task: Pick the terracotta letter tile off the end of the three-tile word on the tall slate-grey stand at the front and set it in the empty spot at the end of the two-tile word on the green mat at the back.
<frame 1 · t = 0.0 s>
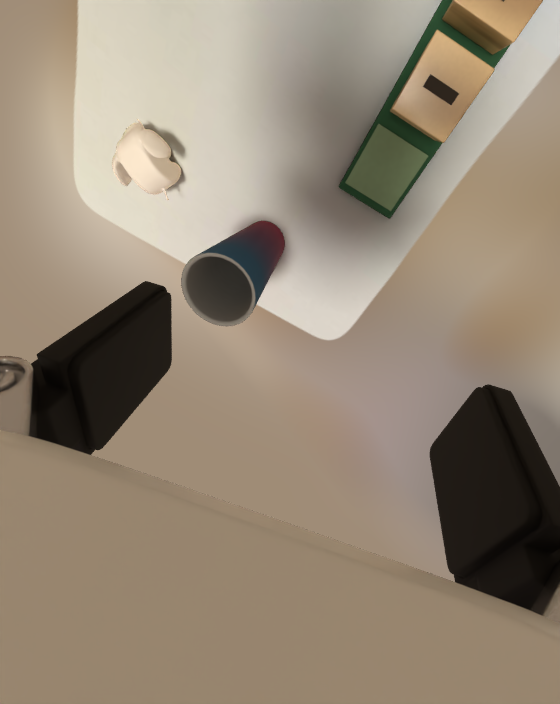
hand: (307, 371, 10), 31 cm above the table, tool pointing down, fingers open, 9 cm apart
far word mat: (430, 95, 29), on the table
elephant figurine: (164, 160, 38), on the table
cup: (265, 241, 40), on the table
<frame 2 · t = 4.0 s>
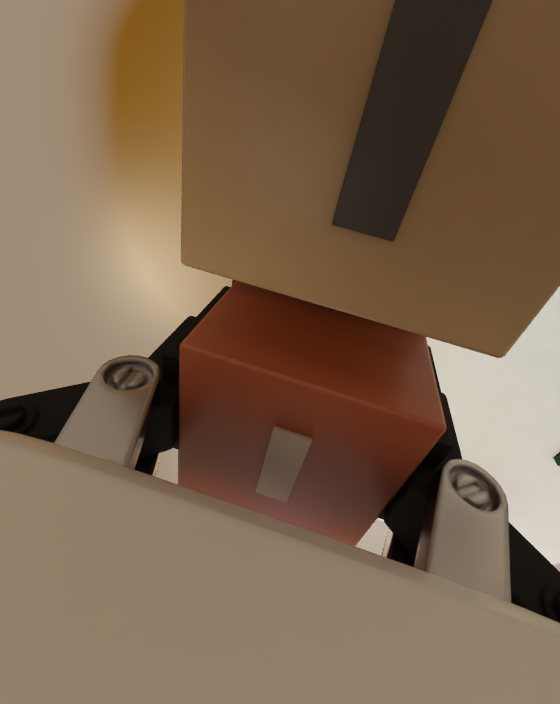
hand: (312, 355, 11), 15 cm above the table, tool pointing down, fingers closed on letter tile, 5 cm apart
near word stand: (381, 121, 19), on the table
letter tile: (315, 344, 11), point 14 cm above the table, touching gripper, near word stand
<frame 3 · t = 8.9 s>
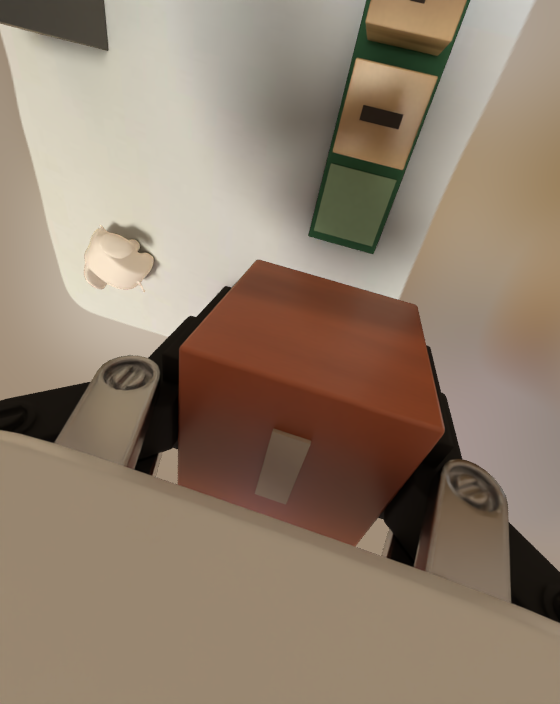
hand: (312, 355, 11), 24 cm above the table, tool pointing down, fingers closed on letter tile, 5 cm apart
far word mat: (380, 118, 26), on the table
elephant figurine: (136, 252, 38), on the table
letter tile: (314, 346, 11), point 23 cm above the table, touching gripper
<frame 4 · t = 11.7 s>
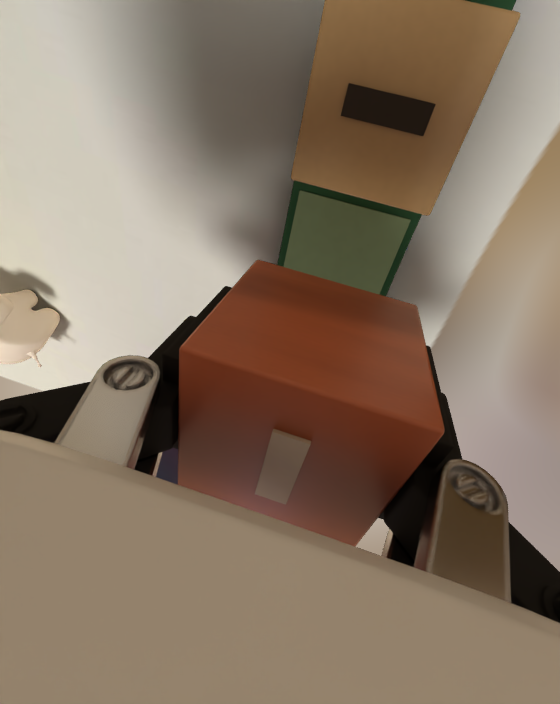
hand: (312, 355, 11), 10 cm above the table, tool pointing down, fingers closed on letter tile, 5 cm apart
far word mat: (383, 113, 14), on the table
elephant figurine: (36, 305, 27), on the table
letter tile: (314, 346, 11), point 9 cm above the table, touching gripper
cup: (200, 378, 27), on the table
when the fingers open (2 cm above the table, at t = 14.0 s): letter tile stays where it is, resting on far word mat.
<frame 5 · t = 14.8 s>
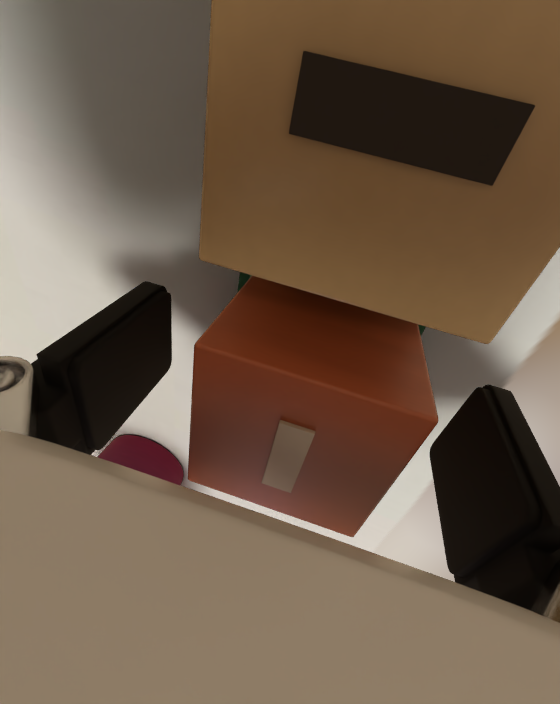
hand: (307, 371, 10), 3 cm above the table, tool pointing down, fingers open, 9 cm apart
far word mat: (387, 124, 9), on the table
letter tile: (316, 345, 12), point 1 cm above the table, touching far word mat
cup: (149, 459, 21), on the table
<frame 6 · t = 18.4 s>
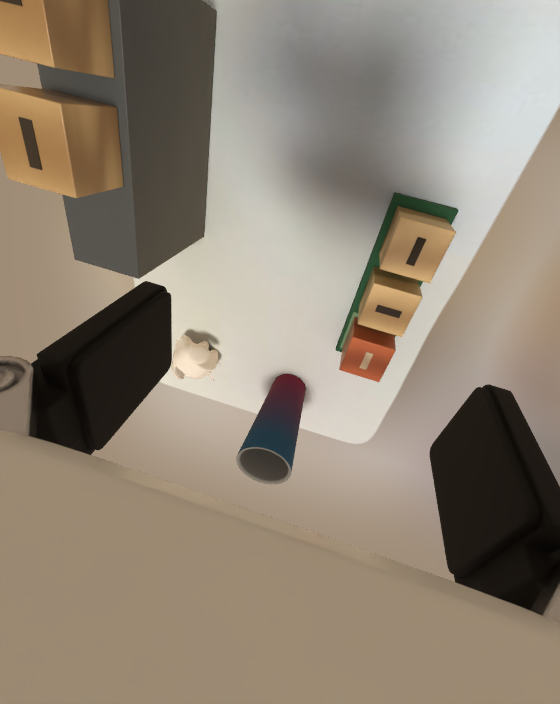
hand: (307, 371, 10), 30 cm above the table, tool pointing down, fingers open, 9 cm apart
near word stand: (181, 135, 35), on the table
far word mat: (386, 289, 39), on the table
elephant figurine: (205, 347, 51), on the table
letter tile: (367, 338, 42), point 1 cm above the table, touching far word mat
cup: (289, 385, 51), on the table
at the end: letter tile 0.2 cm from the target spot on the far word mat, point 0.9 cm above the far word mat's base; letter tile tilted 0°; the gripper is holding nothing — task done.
